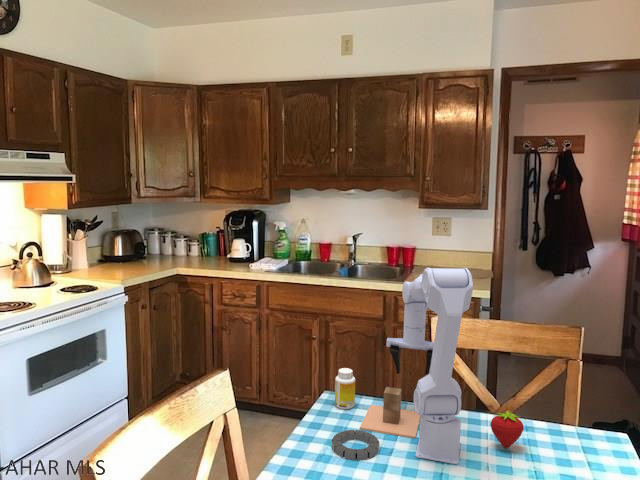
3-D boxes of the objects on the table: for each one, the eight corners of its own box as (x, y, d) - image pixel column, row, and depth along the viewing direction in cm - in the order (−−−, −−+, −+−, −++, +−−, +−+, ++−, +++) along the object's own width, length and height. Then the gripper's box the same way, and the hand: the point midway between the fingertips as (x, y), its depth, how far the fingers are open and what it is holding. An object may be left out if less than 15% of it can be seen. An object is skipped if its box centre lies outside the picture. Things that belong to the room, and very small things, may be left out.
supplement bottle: (358, 406, 143) (359, 371, 141) (343, 411, 139) (344, 375, 138) (345, 399, 147) (346, 365, 146) (330, 404, 143) (331, 369, 142)
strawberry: (486, 440, 126) (488, 401, 124) (518, 442, 125) (520, 403, 124) (492, 452, 120) (494, 412, 119) (525, 455, 119) (528, 414, 118)
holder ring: (382, 440, 124) (382, 434, 124) (373, 463, 114) (374, 457, 114) (338, 432, 128) (339, 427, 127) (326, 455, 117) (326, 448, 117)
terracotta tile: (421, 414, 139) (421, 412, 139) (415, 438, 126) (415, 436, 125) (370, 406, 143) (370, 404, 143) (359, 429, 130) (359, 427, 130)
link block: (400, 417, 135) (401, 388, 134) (398, 424, 131) (399, 394, 130) (385, 415, 136) (386, 386, 135) (382, 422, 133) (383, 392, 132)
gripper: (443, 324, 140) (440, 372, 141) (390, 319, 144) (388, 366, 145) (441, 331, 133) (438, 382, 134) (385, 326, 137) (384, 374, 139)
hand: (412, 374), depth 139 cm, fingers open, 7 cm apart
